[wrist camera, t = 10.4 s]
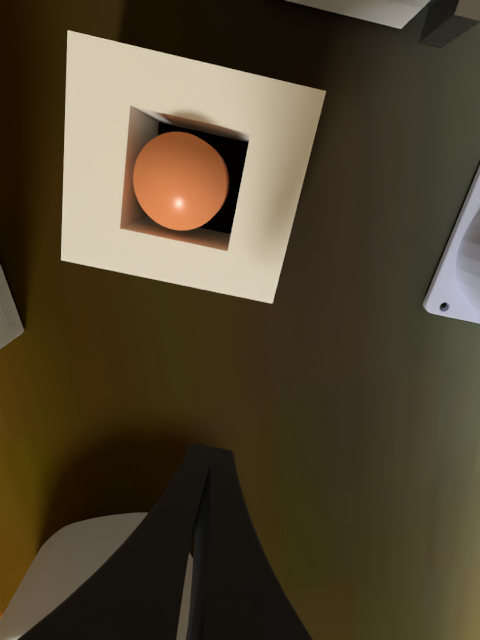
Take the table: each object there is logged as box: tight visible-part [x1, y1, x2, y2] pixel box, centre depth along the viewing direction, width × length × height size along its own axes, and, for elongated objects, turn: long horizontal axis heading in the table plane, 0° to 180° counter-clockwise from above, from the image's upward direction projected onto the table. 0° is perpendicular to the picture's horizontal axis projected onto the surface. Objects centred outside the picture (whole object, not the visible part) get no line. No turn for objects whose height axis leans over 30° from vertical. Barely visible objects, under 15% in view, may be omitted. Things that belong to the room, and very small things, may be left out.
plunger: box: [133, 132, 230, 230], centre depth 16 cm, size 3×3×5 cm
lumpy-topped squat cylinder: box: [0, 513, 193, 640], centre depth 25 cm, size 10×13×9 cm
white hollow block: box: [61, 30, 326, 303], centre depth 16 cm, size 9×8×4 cm
